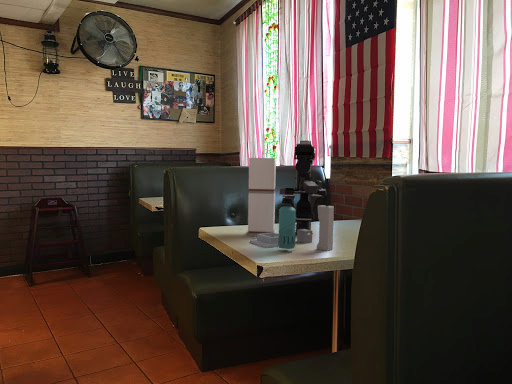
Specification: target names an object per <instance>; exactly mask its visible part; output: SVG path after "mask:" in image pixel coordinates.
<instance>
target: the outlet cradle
mask: <svg viewBox="0 0 512 384" xmlns="http://www.w3.org/2000/svg"><path fill="white" fill-rule="evenodd" d="M278 233H279V232H275V231H274V232H272V233H262V234H257V236H256V239H249V243H250V244H252V245H256V246H258V247H259V246H260V247H262V246H263V248H266V249H268V248H269V249H271V248H277V247H278V248H279V246H278V240H279V234H278Z"/></svg>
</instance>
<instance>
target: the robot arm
mask: <svg viewBox="0 0 512 384" xmlns="http://www.w3.org/2000/svg"><path fill="white" fill-rule="evenodd" d="M293 154H294V156H293V160H296V163H295V170H296V176H295V177H294V180H295V181H296V182H295V183H296V184H295V186H294V187H280V189H279V195H282V198H293V204H287V206H289V207H294V206H295V204H294V203H295V201H294V200H295V197H296V196H295V195H297V194H299V200H298V201H297V203H296V207H294V208H295V210H296V214H295V216H296V220H295V221H296V223H295V224H296V226H295V227H296V228H295V230H296V233H295V235H297V230H299V229H307V230H312V223H313V222H315V212H316V211H315V210H316V207H317V206H318V203H319V201H320V200H321V199H323V198H324V196H327V189H326V188H322V186H323V183H322V181H321V180H316V181H313V177H312V176H311V175H312V173H311V172H312V171H311V170H312V166H313V164H314V161H315V158H316V148H315V146H314V145H313V144H312V141H311V140H300V141H299V143H296V146H294V153H293ZM294 194H295V195H294ZM309 196H310V197H309ZM309 198H310V199H309ZM312 235H314V232H312Z"/></svg>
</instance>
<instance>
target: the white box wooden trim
mask: <svg viewBox="0 0 512 384" xmlns="http://www.w3.org/2000/svg"><path fill="white" fill-rule="evenodd" d="M276 166H277V159H276V158H275V157H248V199H247V201H248V203H247V204H248V206H247V209H248V210H247V237H248V236H249V237H257V234H262V233H272V232H274V233H275V221H276V220H275V214H276V213H275V212H276V211H275V209H276V208H275V207H276V175H277V174H276V172H277V171H276V169H277V167H276Z"/></svg>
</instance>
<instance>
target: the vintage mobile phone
mask: <svg viewBox="0 0 512 384" xmlns="http://www.w3.org/2000/svg"><path fill="white" fill-rule="evenodd" d="M325 196H326V199H325V200H326V201H325V204H324V205H317V219H318V223H319V224H318V225H319V228H318V242H317V244H316V249H317V250H320V251H327V252H328V251H332V250H333V249H334V245H333V244H334V220H335V219H334V213H335V207H334V205H329V184H326V195H325Z"/></svg>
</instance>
